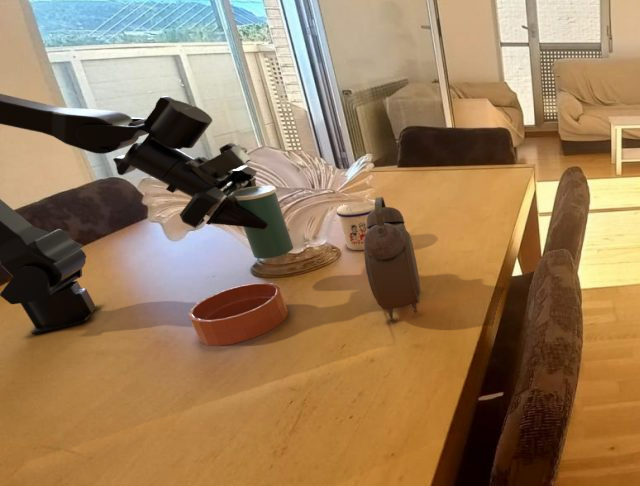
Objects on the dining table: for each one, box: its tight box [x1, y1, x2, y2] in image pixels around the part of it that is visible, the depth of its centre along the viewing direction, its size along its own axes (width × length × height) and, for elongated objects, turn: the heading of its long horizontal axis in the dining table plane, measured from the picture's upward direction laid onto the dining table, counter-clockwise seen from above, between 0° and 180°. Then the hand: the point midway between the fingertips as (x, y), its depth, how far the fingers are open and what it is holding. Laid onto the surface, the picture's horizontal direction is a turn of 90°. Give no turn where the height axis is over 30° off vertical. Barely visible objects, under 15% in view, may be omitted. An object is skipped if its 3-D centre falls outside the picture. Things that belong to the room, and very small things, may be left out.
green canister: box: [233, 184, 294, 260], centre depth 87 cm, size 7×7×12 cm
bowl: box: [187, 282, 289, 347], centre depth 78 cm, size 12×12×5 cm
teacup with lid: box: [336, 198, 375, 251], centre depth 109 cm, size 12×9×12 cm
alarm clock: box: [363, 196, 421, 323], centre depth 80 cm, size 15×7×20 cm, turn 23°
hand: (272, 220), depth 87 cm, fingers closed on green canister, 6 cm apart
